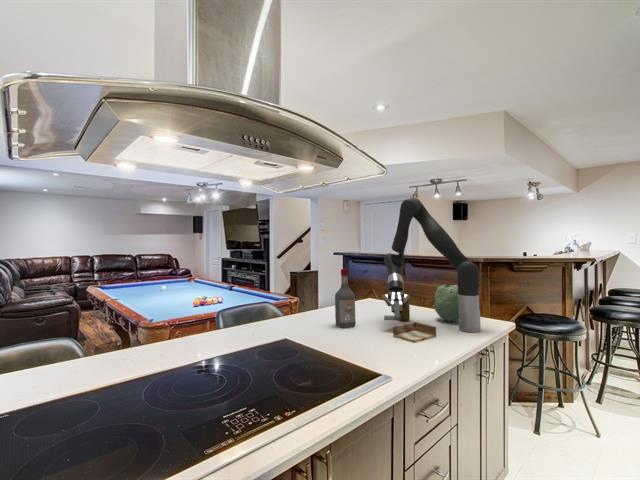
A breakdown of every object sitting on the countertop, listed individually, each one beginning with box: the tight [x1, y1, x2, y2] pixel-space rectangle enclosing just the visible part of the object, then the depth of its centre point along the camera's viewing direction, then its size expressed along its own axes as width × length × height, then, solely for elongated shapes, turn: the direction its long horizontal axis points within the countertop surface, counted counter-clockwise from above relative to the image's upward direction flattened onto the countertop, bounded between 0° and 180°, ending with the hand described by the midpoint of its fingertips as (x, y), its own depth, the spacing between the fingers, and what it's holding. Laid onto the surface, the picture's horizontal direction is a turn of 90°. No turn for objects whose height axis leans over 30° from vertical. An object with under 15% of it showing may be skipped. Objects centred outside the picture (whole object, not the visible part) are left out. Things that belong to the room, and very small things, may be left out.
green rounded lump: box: [433, 284, 459, 322], centre depth 177 cm, size 16×19×20 cm
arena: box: [392, 330, 437, 344], centre depth 148 cm, size 15×12×1 cm
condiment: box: [397, 297, 415, 323], centre depth 180 cm, size 7×8×12 cm
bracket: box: [383, 300, 400, 321], centre depth 159 cm, size 8×4×9 cm, turn 78°
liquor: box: [334, 268, 356, 329], centre depth 171 cm, size 9×9×30 cm
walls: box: [392, 321, 437, 336], centre depth 148 cm, size 15×12×4 cm
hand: (397, 312), depth 156 cm, fingers closed on bracket, 2 cm apart
